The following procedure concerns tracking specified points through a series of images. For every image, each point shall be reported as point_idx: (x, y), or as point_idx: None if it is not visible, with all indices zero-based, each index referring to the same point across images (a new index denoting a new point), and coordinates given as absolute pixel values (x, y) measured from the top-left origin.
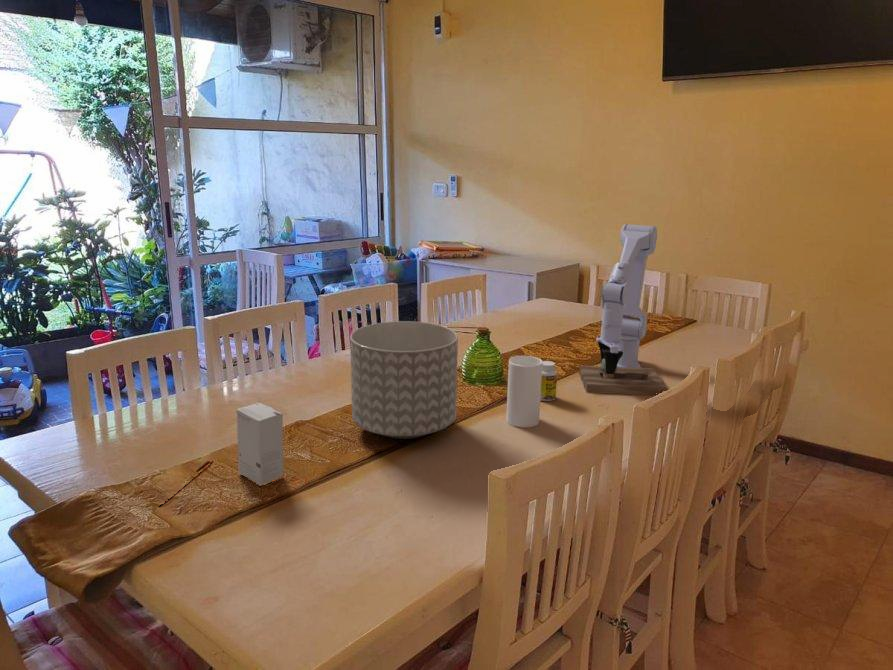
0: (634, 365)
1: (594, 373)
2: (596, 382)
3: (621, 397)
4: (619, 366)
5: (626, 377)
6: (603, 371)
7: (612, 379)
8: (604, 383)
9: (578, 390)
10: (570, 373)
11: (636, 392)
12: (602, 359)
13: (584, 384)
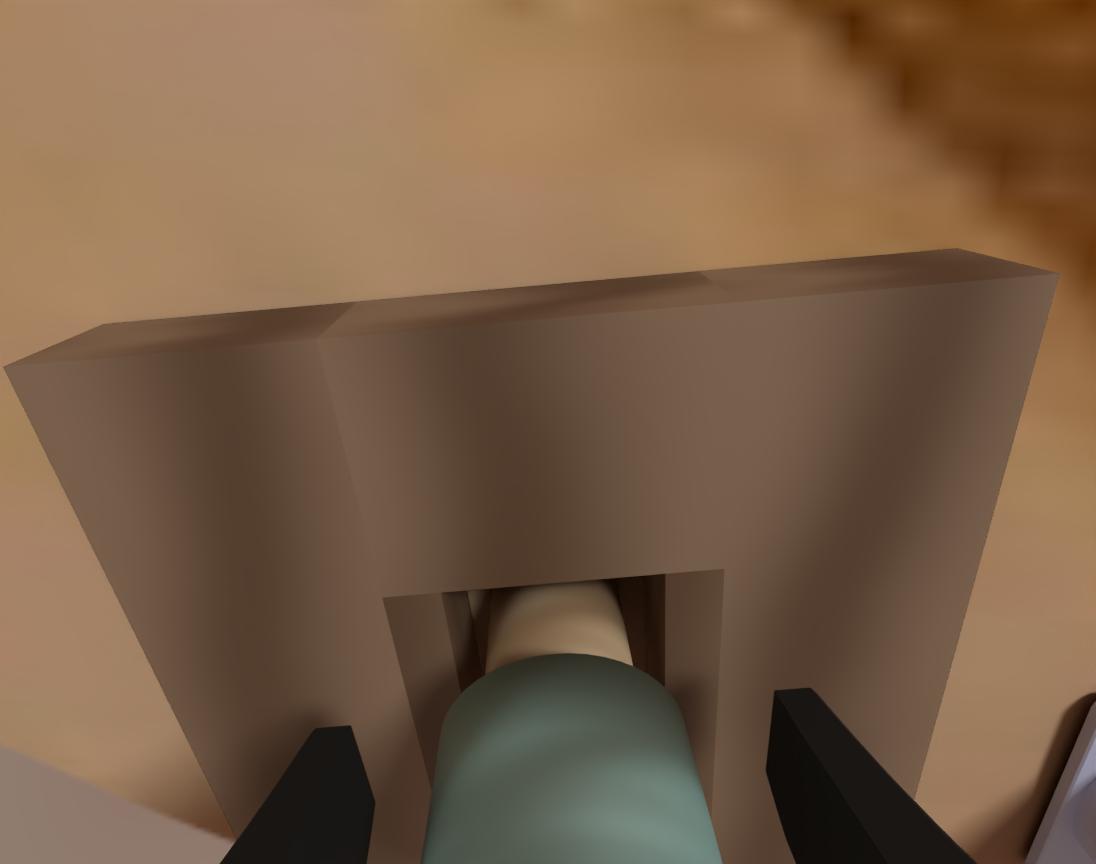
0: (1084, 849)
1: (617, 509)
2: (173, 518)
3: (129, 689)
4: (1091, 739)
5: None
6: (476, 681)
7: (400, 708)
8: (181, 617)
9: (122, 203)
10: (955, 90)
11: None
12: (637, 849)
13: (305, 315)
